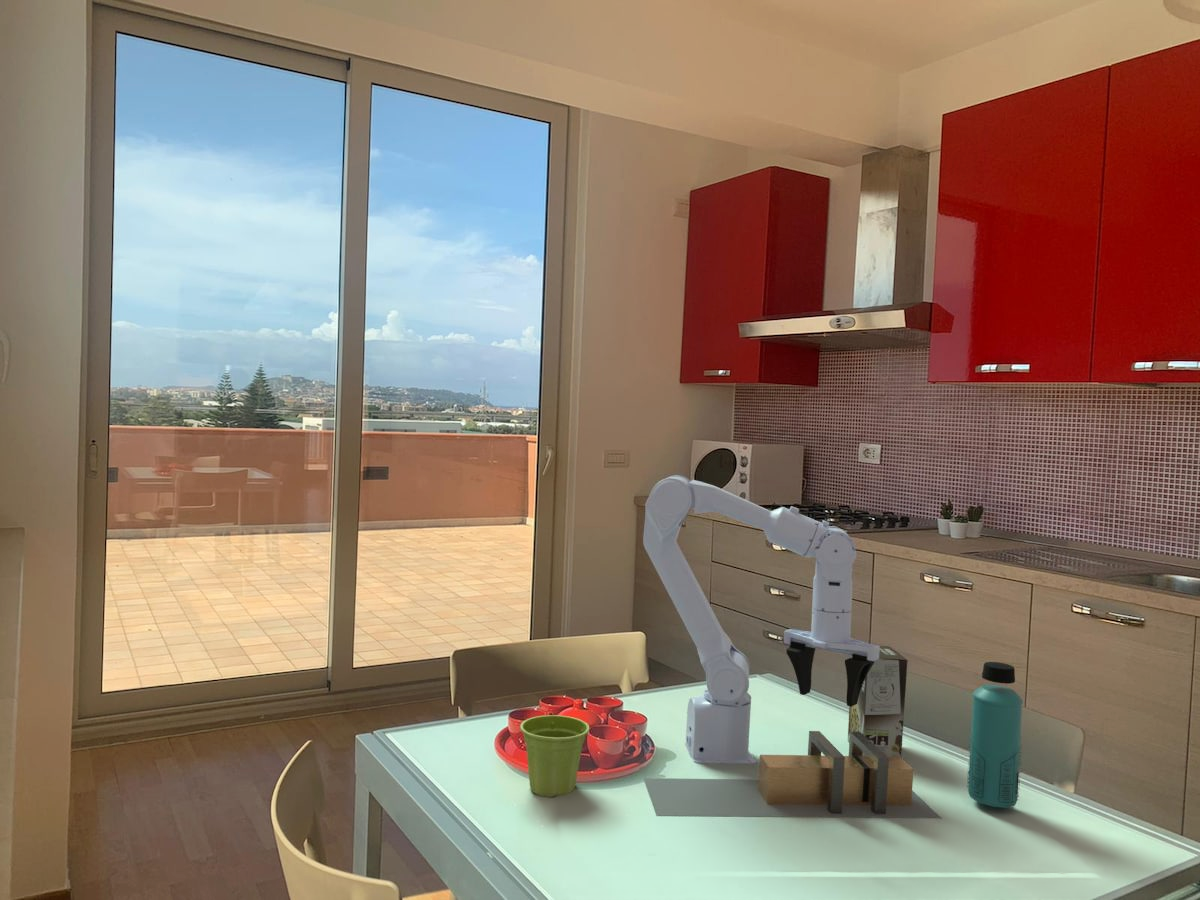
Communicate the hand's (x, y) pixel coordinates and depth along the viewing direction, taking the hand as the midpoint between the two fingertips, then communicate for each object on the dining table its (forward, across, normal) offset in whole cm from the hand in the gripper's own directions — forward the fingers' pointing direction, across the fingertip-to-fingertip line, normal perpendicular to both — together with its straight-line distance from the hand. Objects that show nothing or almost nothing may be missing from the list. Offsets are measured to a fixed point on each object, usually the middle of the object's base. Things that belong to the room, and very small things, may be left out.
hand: (828, 699), depth 134 cm
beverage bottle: (+11, +23, +4) cm, 26 cm away
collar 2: (+10, +10, -7) cm, 16 cm away
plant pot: (+10, -22, -36) cm, 44 cm away
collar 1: (+10, +5, -12) cm, 16 cm away
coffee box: (+11, +2, +12) cm, 17 cm away
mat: (+10, +2, -15) cm, 18 cm away
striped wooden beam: (+10, +6, -10) cm, 16 cm away
